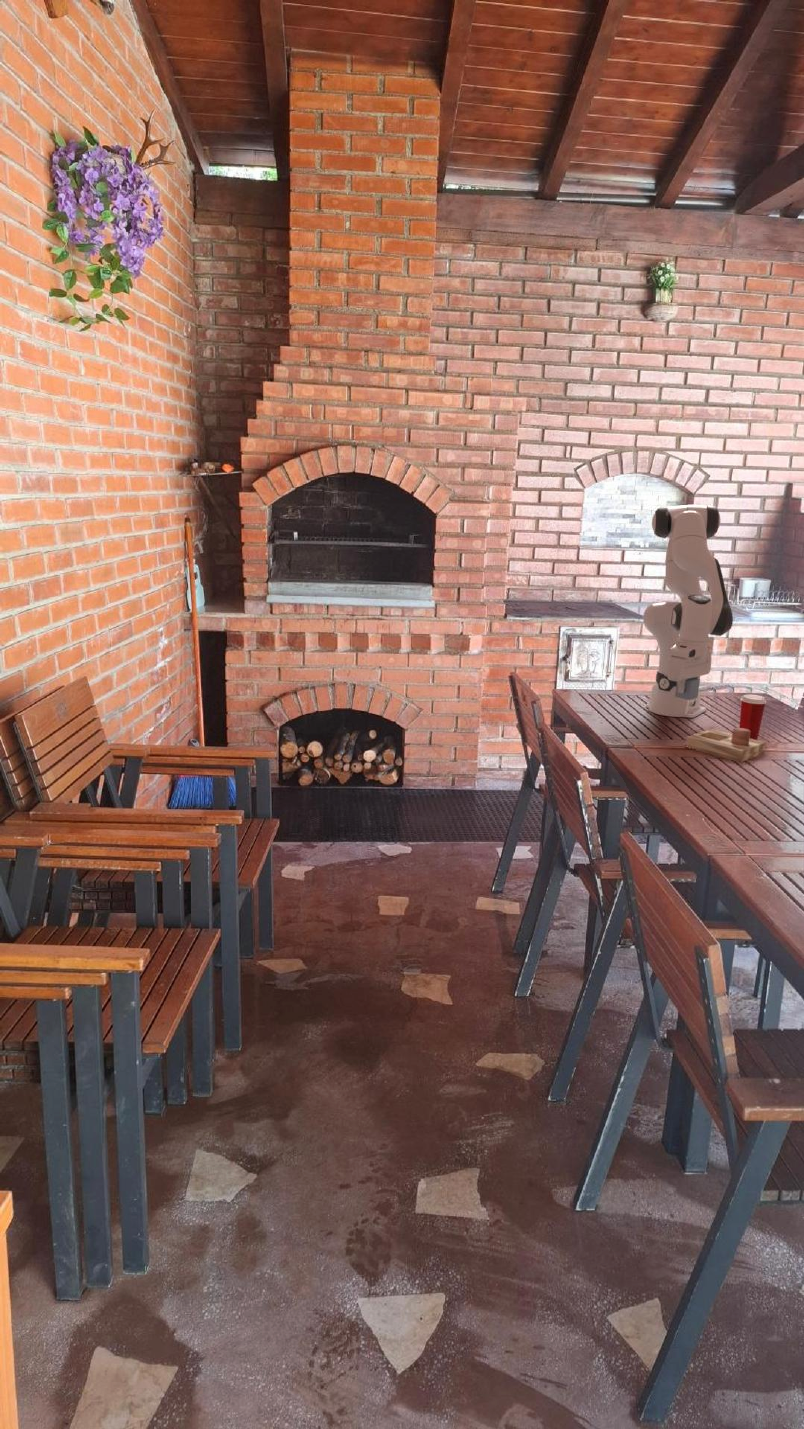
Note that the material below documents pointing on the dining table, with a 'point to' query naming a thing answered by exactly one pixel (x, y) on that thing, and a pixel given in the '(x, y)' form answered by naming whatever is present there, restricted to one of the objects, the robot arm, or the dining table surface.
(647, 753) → the dining table surface
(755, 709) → the paper cup
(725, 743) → the assembly board
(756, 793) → the dining table surface
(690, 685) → the slate block
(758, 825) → the dining table surface
